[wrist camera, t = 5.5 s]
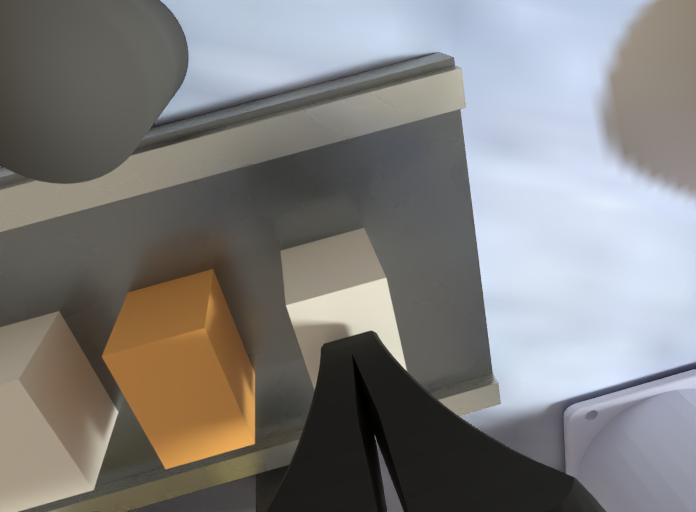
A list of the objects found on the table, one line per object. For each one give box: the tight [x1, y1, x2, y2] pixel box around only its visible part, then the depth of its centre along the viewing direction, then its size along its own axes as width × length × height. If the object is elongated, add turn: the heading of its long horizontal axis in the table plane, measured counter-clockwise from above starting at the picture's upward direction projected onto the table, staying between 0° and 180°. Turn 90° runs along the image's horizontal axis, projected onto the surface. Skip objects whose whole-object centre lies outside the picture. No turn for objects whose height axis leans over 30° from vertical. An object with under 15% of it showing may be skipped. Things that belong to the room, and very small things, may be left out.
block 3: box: [281, 228, 407, 390], centre depth 15 cm, size 2×4×3 cm, turn 13°
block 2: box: [102, 269, 255, 469], centre depth 15 cm, size 2×4×3 cm, turn 13°
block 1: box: [0, 311, 118, 512], centre depth 15 cm, size 2×4×3 cm, turn 13°
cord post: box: [0, 0, 188, 184], centre depth 11 cm, size 3×3×6 cm
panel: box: [0, 52, 501, 512], centre depth 17 cm, size 18×12×2 cm, turn 103°
